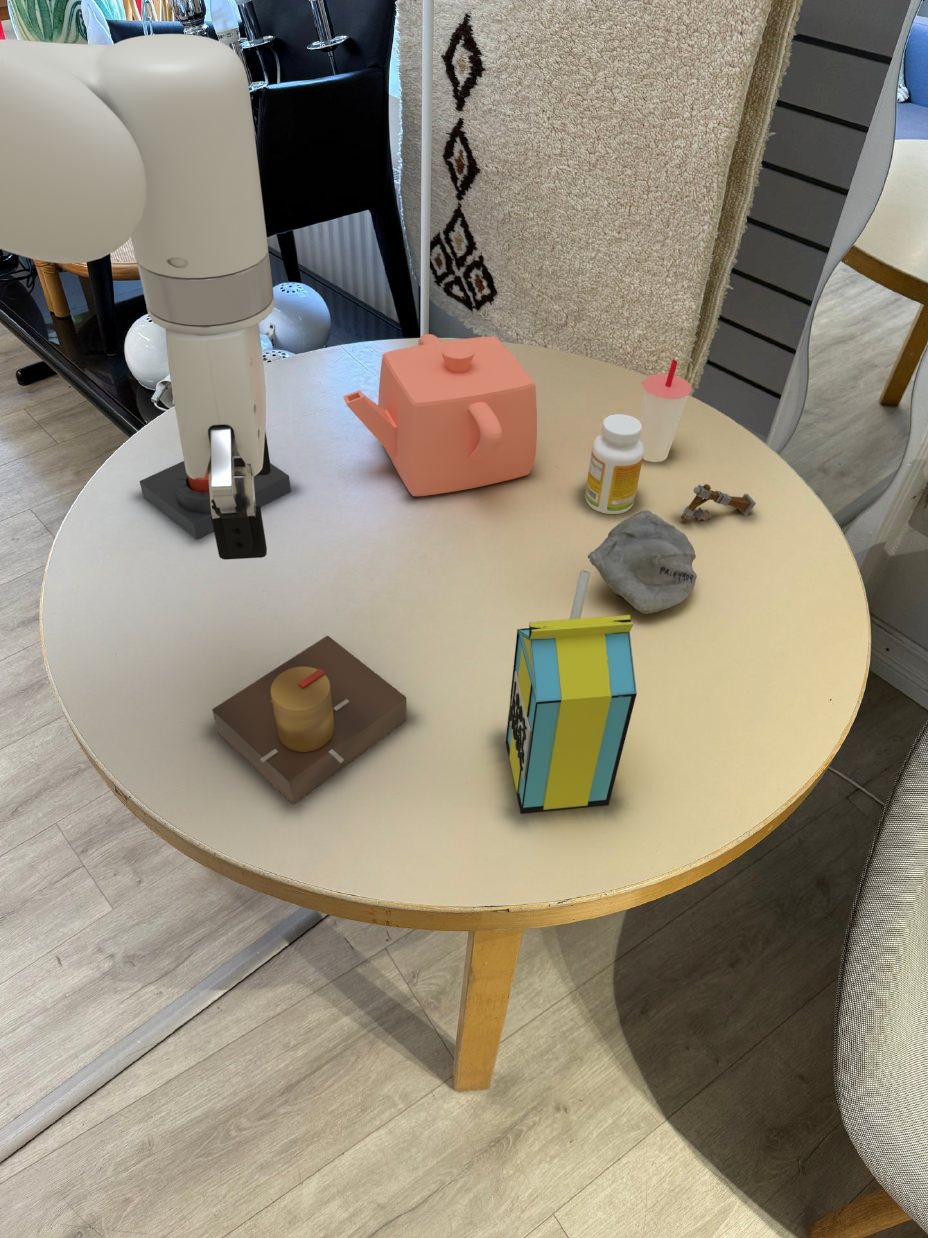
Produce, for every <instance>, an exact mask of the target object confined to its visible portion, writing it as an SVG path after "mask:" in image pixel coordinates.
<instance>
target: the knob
mask: <svg viewBox="0 0 928 1238" xmlns="http://www.w3.org/2000/svg"><path fill="white" fill-rule="evenodd" d="M271 698H272V704H273V709H274V715H275V720H276V726H277V732H278V737H279V739H280V741H281V743H282V744H283V745H284V746H286V747H287V748H289V749H291V750H293V751H297V752H310V751H314V750H317V749H319V748H321V747H323V746H324V745H326V744H327V743H328V742H329V741H330V739H331V738H332V736H333V734H334V717H333V708H332V699H331V689H330V682H329V680H328V678H327V677H326V675H325V672H324V671H323V670H321V669H319V670H317V669H315V668H311V667H295V668H291V669H288V670H286V671H284V672H282V673H281V674H280V675H279V676H277V677H276V679H275V680H274V682H273V683H272V686H271Z"/></svg>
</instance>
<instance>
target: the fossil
mask: <svg viewBox="0 0 928 1238" xmlns="http://www.w3.org/2000/svg"><path fill="white" fill-rule="evenodd" d="M696 555H697V554H696V551H695V548H694V546H693V544H692V542H691V541H689V538H688V537H687V535H686V534H685V532H682V531H681V530H680V529H678V528H676V526H675V525H673V524H671V523H668V522H667V521H665V520H664V519H662V517H660V516H659V515H657V514H656V513H653V512H652V511H650V510H641V511H638V512H637V513H635V514H633V515H632V516H630V517H628V518H626V519H623V520H622V521H621V522H619V523H618V524H617V525H616V526H614V527H613V528H612V529H611V530H610V531H609V532H608V534H607V537H606V538H605V539H604V541H603V542H602V543H600V545H598V547H596V548H595V549H594V550H593V551H591V552H589V554H587V558H588V559H589V562H590V564H591V565H592V566H594V567H595V569H596V570H597V572H598V573H599V575H600V576H601V578H602V579H603V581H604V582H605V583H606V584H607V586H608V587H610V590H611V591H612V593H613V594H615V595H617V596H620V597H622V598H623V599H624V600H625V601H626V602H627V603H628V604H629V605H630V606H631V607H633V608H634V609H635V610H637V611H638V612H640V613H642V614H645V615H648V614H654V613H658V612H660V611H663V610H668V609H670V608H672V607H674V606H677V605H680V603H682V602H683V601H685V600H686V599H687V598H688V597H689V596H690V594H691V593H692V591H693V590H694V588H695V585H696V581H697V578H698V576H697V573H696V572H695V571H694V569H693V562H694V561H695V559H697V556H696Z"/></svg>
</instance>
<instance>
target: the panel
mask: <svg viewBox="0 0 928 1238" xmlns="http://www.w3.org/2000/svg"><path fill="white" fill-rule="evenodd" d="M295 667H311V668H315V669H317V670H319V669H321V670H323V671H324V672H325V675H326V677H327V678H328V680H329V682H330V689H331V699H332V708H333V717H334V734H333V736H332V738H331V739H330V741H329V742H328V743H327V744H326V745H324V746H323V747H321V748H319V749H317V750H314V751H310V752H297V751H293V750H291V749H289V748H287V747H286V746H284V745H283V744H282V743H281V741H280V739H279V737H278V732H277V726H276V720H275V715H274V709H273V704H272V698H271V686H272V683H273V682H274V680H275V679H276V677H277V676H279V675H280V674H281V673H282V672H284V671H286V670H288V669H291V668H295ZM407 709H408V708H407V697H406V696H405V694H403V693H401V692H400V691H399V690H398V689H397V688H395V687H394V686H393V685H392V684H391V683H389V682H387V680H385V679H384V678H383V677H382V676H380V675H379V674H377V673H376V672H375V671H373V670H372V669H371V668H370V667H369V666H368V665H366V664H365V663H363V662H362V660H359V659H358V658H357V657H356V656H355V655H354V654H352V653H351V652H350V651H348V650H347V649H346V648H345V647H343V646H342V645H340V643H338V642H337V641H336V640H334V639H333V638H332V637H330V636H329V635H326V636H324V637H323V638H321V639H320V640H318V641H316V642H315V643H313V644H312V645H310V646H309V647H307V648H305V649H304V650H302V651H301V652H299V653H298V654H295V656H293V657H291V658H289V659H288V660H287V661H285V662H284V663H282V664H280V665H279V666H277V667H275V668H274V669H273V670H271V671H270V672H268V673H266V674H265V675H263V676H262V677H260V678H259V679H257V680H255V681H254V682H252V683H251V684H249V685H247V686H246V687H244V688H243V689H242V690H239V691H238V692H236V693H235V694H234V695H232V696H231V697H229V698H227V699H225V700H224V701H223V702H221V703H219V704H218V705H216V706H215V707H213V708H212V709H211V711H212V715H213V719H214V722H215V727H216V730H217V734H219V735H220V737H222V738H223V739H224V741H226V742H227V743H228V744H229V745H230V746H231V747H232V748H233V749H235V751H236V752H237V753H238V754H240V755H241V756H242V757H243V759H245V760H246V761H247V762H248V763H249V764H250V765H251V766H252V767H253V768H255V770H256V771H257V772H258V773H259V774H261V775H262V777H264V778H265V779H266V780H267V781H268V782H269V783H270V784H271V785H272V786H273V787H274V788H275V789H276V790H277V791H279V792H280V793H281V794H282V795H283V796H284V798H286V800H288V801H289V802H290V803H291V805H295V804H297V803H298V802H300V801H301V800H302V799H304V798H305V797H306V796H308V795H309V794H310V793H311V792H313V791H315V790H316V789H317V788H319V786H321V785H322V784H324V783H325V782H326V781H327V780H329V779H331V778H332V777H333V776H334V775H336V774H338V772H340V771H341V770H343V769H344V768H345V767H346V766H348V765H349V764H350V763H352V762H353V761H354V760H356V759H357V758H358V757H360V756H361V755H362V754H364V753H365V752H366V751H368V750H369V749H370V748H372V747H373V746H375V745H376V744H377V743H378V742H380V741H381V740H383V739H384V738H385V737H387V736H388V735H389V734H391V733H392V732H393V731H394V730H396V729H397V728H398V727H400V726H401V725H403V724H404V723H405V722H407V720H408V714H407Z"/></svg>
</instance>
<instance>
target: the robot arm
mask: <svg viewBox="0 0 928 1238" xmlns="http://www.w3.org/2000/svg"><path fill="white" fill-rule="evenodd" d="M248 81H249V80H248V74H247V71H246V69H245V65H244V64H243V62H242V60H241V58H240V57H239V55H238V54H237V53H236V51H235V50H233V49H232V47H229V45H227V44H225V43H224V42H222V41H219V40H216V39H213V38H210V37H206V36H201V35H197V34H196V35H195V34H194V35H193V34H184V33H162V34H161V33H160V34H159V33H158V34H147V35H139V36H134V37H129V38H126V39H123V40H120V41H118V42H116V43H113V44H87V43H65V42H63V43H62V42H48V41H36V40H25V39H0V250H2V251H6V252H8V253H11V254H14V255H17V256H20V257H24V258H27V259H31V260H35V261H40V262H45V263H53V264H63V265H64V264H66V265H70V264H72V265H73V264H85V263H89V262H93V261H96V260H100V259H103V258H105V257H106V256H108V255H110V254H112V253H115V252H116V251H117V250H118V249H119V248H121V247H123V245H125V244H126V243H127V242H128V241H129V239H131V243H132V247H133V253H134V258H135V261H136V265H137V269H138V273H139V274H138V275H139V279H140V283H141V287H142V292H143V296H144V301H145V304H146V305H145V307H146V311H147V314H148V315H147V316H148V317H149V318H150V320H151V321H152V322H153V323H154V324H156V325H157V326H158V327H160V328H162V329H164V330H165V340H166V341H165V342H166V343H165V344H166V353H167V362H168V371H169V378H170V387H171V393H172V398H173V405H174V410H175V416H176V423H177V427H178V433H179V439H180V445H181V451H182V457H183V461H184V463H185V469H186V473H187V474H188V476H189V477H191V478H192V479H197V478H204V477H205V474H206V471H207V468H208V480H209V493H210V506H211V512H210V514H211V519H212V524H213V529H214V532H213V535H214V538H215V543H216V548H217V552H218V553H217V554H218V557H219V558H220V559H222V560H224V561H225V560H242V559H243V560H244V559H261V558H265V557H266V556H267V554H268V553H267V552H268V551H267V550H268V546H267V540H266V534H265V527H264V520H263V516H262V515H263V514H262V509H261V508H262V507H260V506H256V504H255V490H254V477H253V476H258V475H268V474H269V473H270V471H271V465H270V463H271V458H270V452H269V444H268V438H267V437H268V436H267V431H266V425H267V424H266V423H267V393H266V392H267V390H266V377H265V367H264V366H265V365H264V357H263V356H264V355H263V349H262V341H261V332H260V327H259V323H261V322H262V321H264V320H265V319H267V318H268V317H269V315H270V314H272V313H273V311H274V309H275V303H276V302H275V293H274V285H273V278H272V268H271V259H270V253H269V243H268V237H267V236H268V235H267V227H266V220H265V211H264V202H263V194H262V186H261V176H260V168H259V160H258V152H257V146H256V143H257V142H256V135H255V127H254V126H255V125H254V118H253V111H252V102H251V94H250V87H249V82H248ZM234 478H244V490H245V497H244V496H243V495H242V494H236V487H235V480H234Z"/></svg>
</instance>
